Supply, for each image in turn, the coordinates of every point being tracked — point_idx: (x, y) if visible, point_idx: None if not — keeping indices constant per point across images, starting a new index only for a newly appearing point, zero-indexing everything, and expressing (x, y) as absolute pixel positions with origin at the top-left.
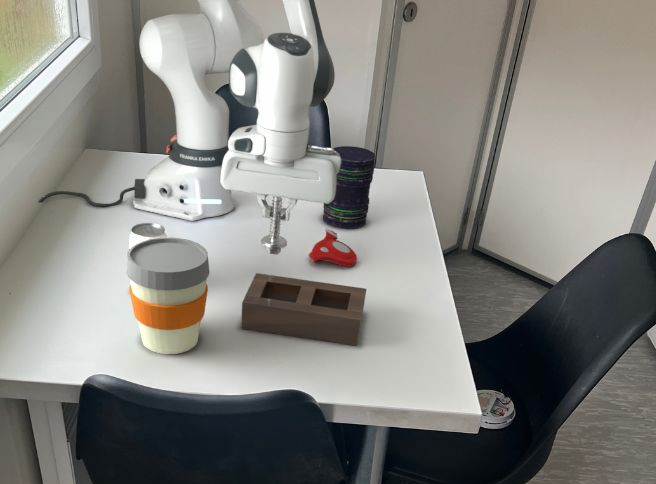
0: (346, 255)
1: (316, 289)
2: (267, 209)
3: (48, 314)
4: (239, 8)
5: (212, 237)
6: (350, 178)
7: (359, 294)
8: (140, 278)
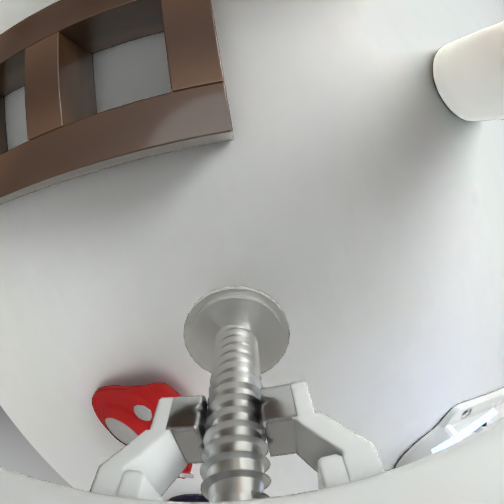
0: (103, 412)
1: (28, 141)
2: (284, 419)
3: None
4: None
5: (420, 381)
6: None
7: None
8: None
